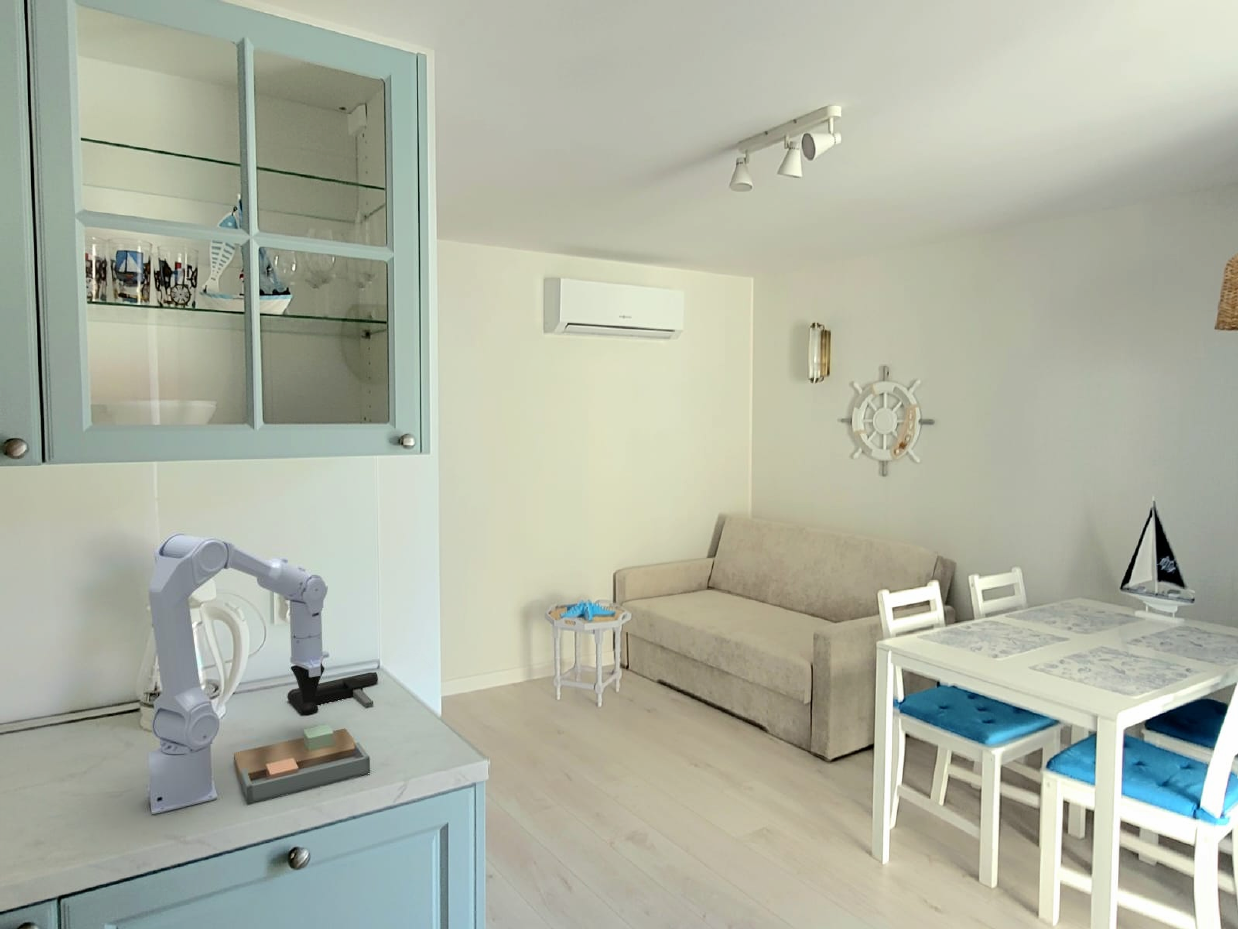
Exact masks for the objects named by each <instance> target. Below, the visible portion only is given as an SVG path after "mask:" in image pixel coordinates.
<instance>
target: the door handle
mask: <svg viewBox="0 0 1238 929" xmlns="http://www.w3.org/2000/svg"><path fill="white" fill-rule="evenodd" d="M378 676H379V675H378V673H377V672H376V671H374V672H365V673H361V674H356V675H352V676H346V677H342V678H338V679H334V680H330V681H329V680H328V681H325V682H319V684H318V688H317V693H316V698H315V701H314V702H309V703H303V701H302V699H301V695H300V691H299V687H298V688H293V689H291V690H289V692H287V695H286V696H287V697H286V698H287V701H289V703H291V702H292V703H291V704H292V705H293V706H294V708H295V709H296V710H297V712H299V714H300V715H301V716H303V715H307V716H311V715H315V714H316V713H317V712H318V711H319V706H322V705H321V704H323V705H326V704H325V703H327V704H330V703H329V702H332V703H336V702H339V701H338V700H340V701H343V700H342V699H345V700H347V699H346V698H349V699H354V700H355V699H356V700H355V701H356V702H358V704H359V705H361V706H362V707H363V708H365V709H369V708H373V707H374V701H373V700H372V699H371V698H370V697H369V696H368V695H367V694H366V693H365V692H364V688H365V687H369V686H373V685H374V684H377V683H378V682H379V677H378ZM317 705H319V706H317ZM314 713H315V714H314Z"/></svg>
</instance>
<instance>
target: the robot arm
mask: <svg viewBox="0 0 1238 929" xmlns="http://www.w3.org/2000/svg"><path fill="white" fill-rule="evenodd" d="M153 554H154V560H155V567H154V571H153V574H152V576H151V577H152V578H151V581H150V583H149V588H148V600H149V605H150V614H151V620H152V628H153V635H154V641H155V648H156V656H157V662H158V670H159V676H160V677H159V678H160V682H161V683H160V684H161V692H162V693H161V694H160V695H159V696H158V697H156V698H155V700H154V701H153V704H152V705H153V715H152V718H151V721H150V729H151V733H152V735H153V736H154V737H156V738H158V739H159V746H160V748H158V749H156V750H154V751H149V752H148V753H147V765H148V766H147V768H148V784H149V785H148V786H146V789H147V798H148V799H149V801H150V813H151V814H152V815H156V814H160V813H164V812H168V811H172V810H177V809H180V808H185V807H190V806H194V805H196V804H197V805H198V804H202V803H206V802H210V801H214V800H216V799H217V798H218V793H217V789H216V785H215V782H214V778H213V773H212V772H213V771H212V749H211V748H212V745H213V741H214V740H215V738H216V737H217V734H218V732H219V730H220V724H221V723H220V719H219V715H218V714H217V713H216V712H215V710H214V708H213V704H212V700H211V698H210V696H208V695H207V693H206V692H205V691H204V690H203V688H202V687H201V682H200V677H199V676H200V674H199V668H198V660H197V654H196V645H195V637H194V636H195V635H194V629H193V622H192V615H191V608H190V606H191V605H190V597H191V596H192V595H193V593H194V592H195V591H197V590H198V589H199V588H200V587H202V586H203V585H204V584H206V583H207V582H208V581H210V580H211V579H212V578H213V577H215V576H216V575H218V573H220V572H221V571H222V570H223V569H225V570H228V569H230V568H231V569H233V570H236V571H239V572H241V573H244V574H247V575H250V576H252V577H255V578H256V582H257V584H258V586H259V587H260V588H262V589H265V590H267V591H269V592H273V593H274V594H277V595H279V596H282V597H283V599H284V600H285V601H286V602H287V601H288V602H289V605H288V606H289V622H290V623H289V626H290V629H289V630H290V654H291V656H290V658H289V661H290V663H291V664H292V665H291V667H290V670H291V672H293V675H294V678H295V679H296V683H297V686H298V688H299V691H300V695H301V699H302V701H303V703H309V702H314V701H315V698H316V693H317V688H318V684H319V683H320V680H321V677H322V676H323V674H324V672H325V666H324V665H323V663H322V662H323V660H324V659H326V658H329V657H330V653H329V652H328V651H327V650H326V651H323V627H322V626H323V625H322V619H323V618H322V611H323V608H324V601H325V598H326V596H327V594H328V589H329V588H328V586H327V585H326V582H325V581H324V580H323V578H322V577H321V576H320V575H318V574H311V573H307V572H306V568H304V567H302V566H301V567H300V566H298V567H296V566H294V565H291V564H290V563H288V561H289V560H288V559H286V558H285V557H277V558H276V557H275V558H274V557H273V558H269V559H268V560H264V559H262V558H261V557H259V556H256V555H255V554H253V553H251V552H249V551H247V550H246V549H243V548H241V547H239V546H237V545H235V544H233V543H232V542H228V541H225V540H224V541H222V540H221V539H219V538H216V537H204V536H203V537H202V536H195V535H188V534H184V533H175V534H172V535H170V536H168V537H167V538H165V540H163V542H162V543H161V544H160V545H159V547H158V548H156V549H155V551H154V553H153Z"/></svg>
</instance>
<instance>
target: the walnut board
mask: <svg viewBox="0 0 1238 929" xmlns="http://www.w3.org/2000/svg"><path fill="white" fill-rule="evenodd" d="M332 731H333V733H334V746H330V747H326V748H322V749H317V750H313V751H308V749H307V748H306V746H305V744H304V737H300V738H296V739H295V738H294V739H292V740H291V739H290V740H287V741H282V742H277V743H274V744H268V745H263V746H259V747H255V748H254V747H253V748H250V749H244V750H241V751H236V752H233V764H234V768H235V771H236V773H237V777H238V780H239V783H240V784H241V769H245V768H246V770H247V773H248V775H249V778H250V781H253V780H257V779H261V778H266V764H270V763H274V762H278V761H282V760H287V759H291V758H293V759H294V760H295V762H296V764H297V766H298V768H299V769H303V768H307V767H312V766H316V765H320V764H324V763H328V762H332V761H337V760H341V759H345V758H349V757H353V756H355V749H354V743H356V741H355V740H354V739H353V737H352V735H351V734H350V732H349V731H348V730H347V729H346V727H345V728H341V729H337V730H336V729H335V730H332Z"/></svg>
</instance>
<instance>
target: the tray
mask: <svg viewBox="0 0 1238 929" xmlns="http://www.w3.org/2000/svg"><path fill="white" fill-rule="evenodd" d="M354 749H355V756H353V757H349V758H345V759H341V760H337V761H332V762H328V763H324V764H320V765H316V766H312V767H307V768H303V769H299V773H295V774H291V775H287V776H283V777H279V778H274V779H270V780H267V778H261V779H257V780H253V781H250V778H249V775H248V773H247V770H246V768H245V769H241V783H240V786H241V789H242V792H243V795H244V799H245V800H246V803H247V804H246V805H248V804H249V805H253V804H256V803H260V802H265V801H267V799H268V800H271V798H272V799H274V798H273V797H276V798H279V797H278V796H280V797H283V796H282V795H284V796H287V795H286V794H288V795H292V794H294V793H299V792H300V793H301V792H303V791H306V790H312V789H315V788H319V787H322V786H327V785H331V784H336V783H338V782H344V781H346V780H351V779H354V778H353V777H355V778H358V776H359V777H363V776H366V775H365V774H367V775H369V774H368V773H370V774H371V765H370V764H371V763H370V762H371V761H370V760H371V759H370V756H369V755H368V753H367V752H366V751H365V749H364V748H363V746H362V745H361V743H360V742H355V743H354ZM362 775H363V776H362ZM350 778H351V779H350ZM259 801H260V802H259Z"/></svg>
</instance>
